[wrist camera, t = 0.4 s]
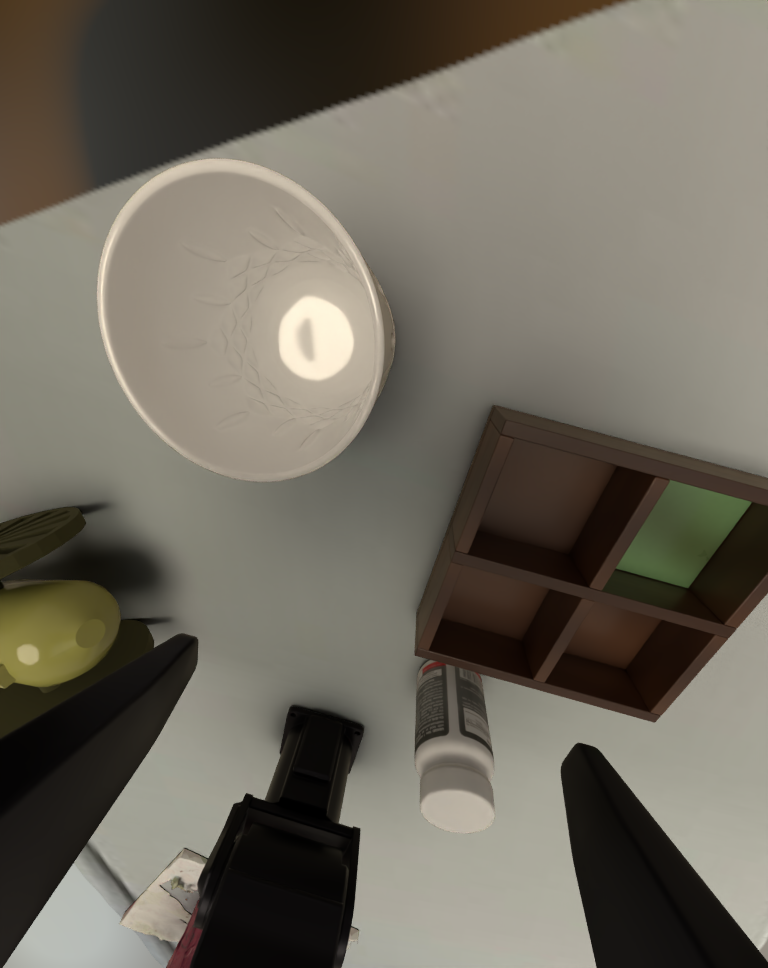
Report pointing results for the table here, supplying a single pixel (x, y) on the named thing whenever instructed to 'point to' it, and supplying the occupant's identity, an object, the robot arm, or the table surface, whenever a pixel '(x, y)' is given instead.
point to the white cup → (242, 320)
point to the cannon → (54, 623)
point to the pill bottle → (453, 749)
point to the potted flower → (175, 909)
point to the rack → (593, 565)
